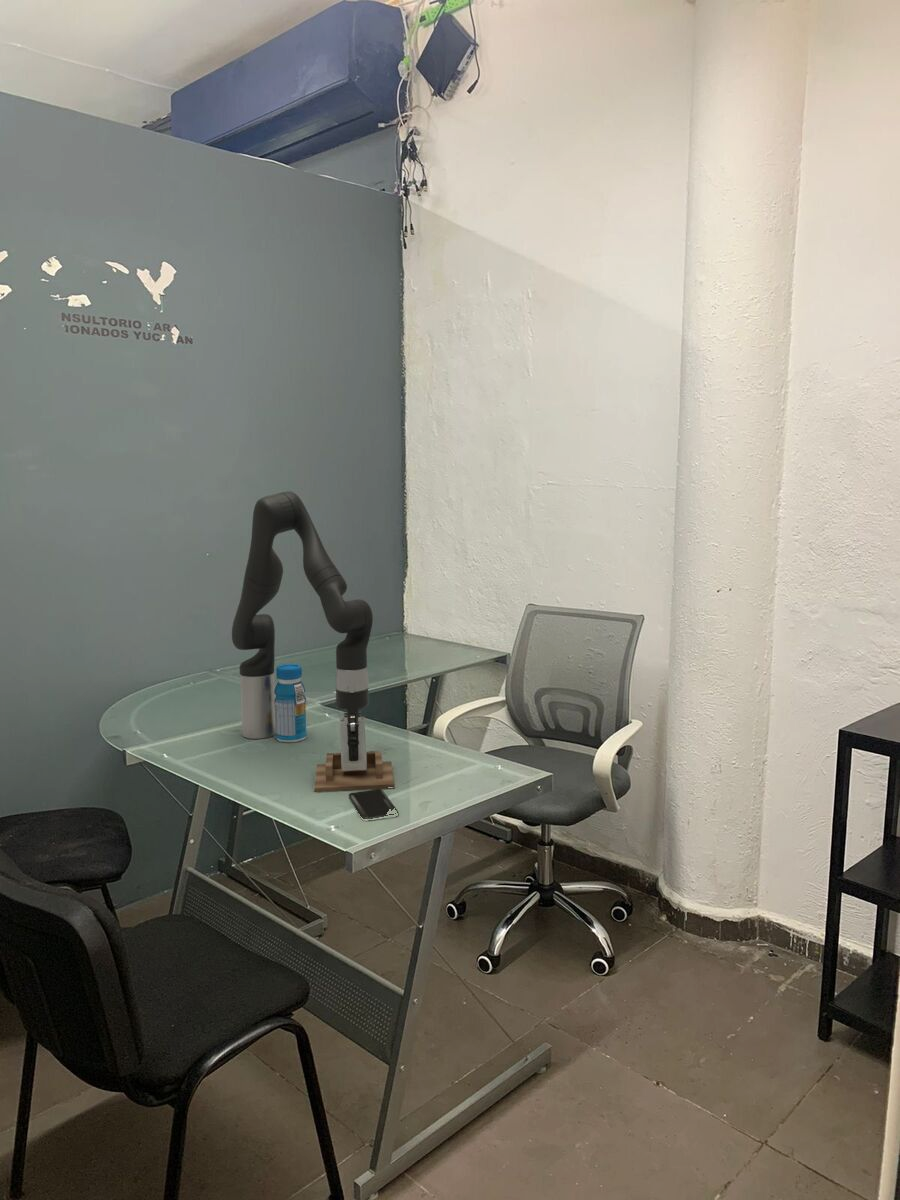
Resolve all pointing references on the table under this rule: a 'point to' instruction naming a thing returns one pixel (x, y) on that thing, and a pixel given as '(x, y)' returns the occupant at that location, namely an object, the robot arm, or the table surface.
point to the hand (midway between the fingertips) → (353, 756)
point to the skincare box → (345, 762)
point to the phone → (371, 803)
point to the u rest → (353, 774)
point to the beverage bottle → (290, 704)
